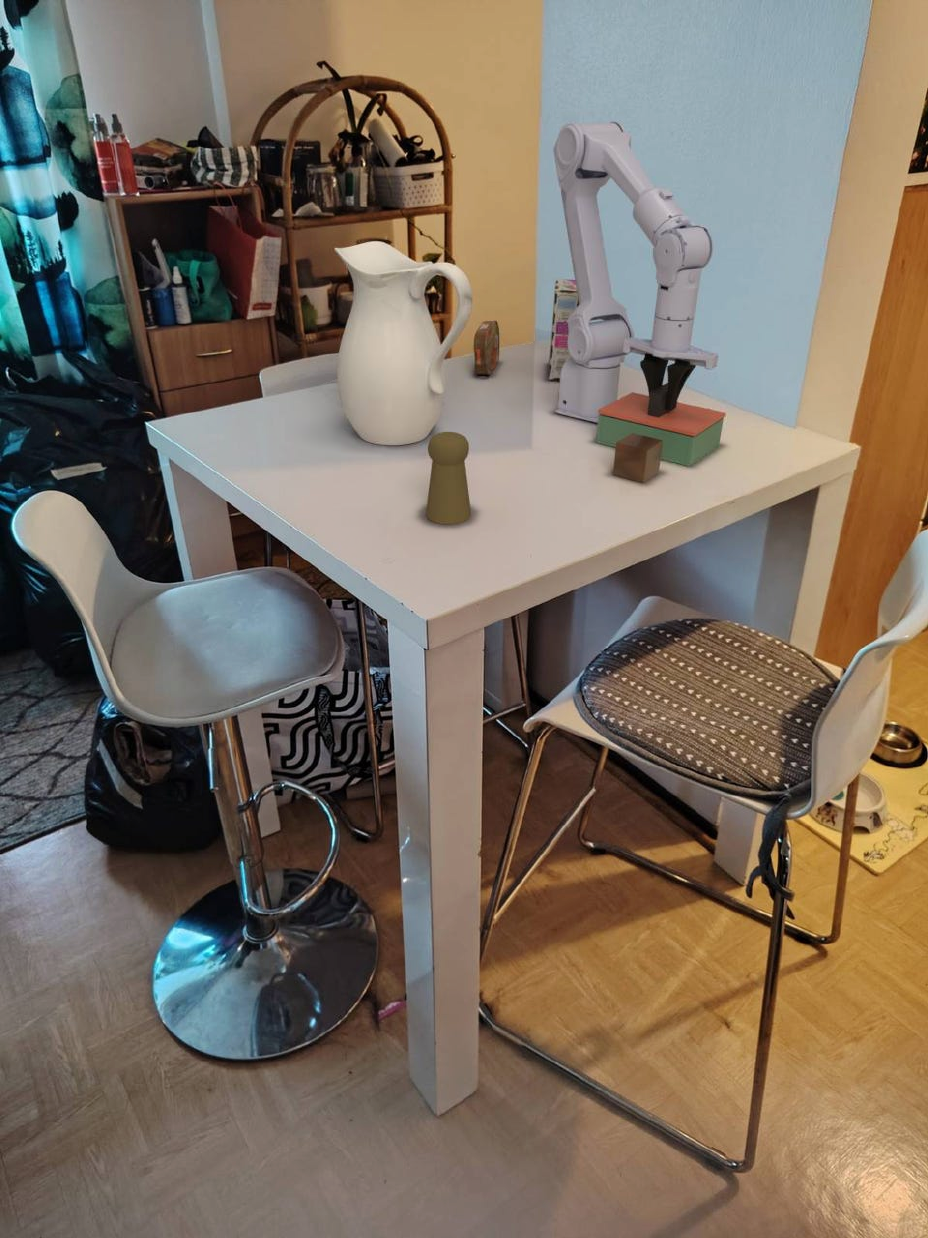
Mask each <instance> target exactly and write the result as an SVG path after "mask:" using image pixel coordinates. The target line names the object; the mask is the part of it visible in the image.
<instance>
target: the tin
mask: <svg viewBox="0 0 928 1238" xmlns="http://www.w3.org/2000/svg"><path fill="white" fill-rule="evenodd" d="M473 352H474V353H473V354H474V355H473V356H474V371H475V374H476V375H478V376H482V375H483V376H491V375H492V374H493V372H494V370H495V368H496V366H497V364H498V363H499V357H500V328H499V323H498V321H497V320H486V321H483V322H482V323H481V324H480V325H479V327H478V329H476V331H475V333H474V336H473Z"/></svg>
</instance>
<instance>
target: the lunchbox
mask: <svg viewBox="0 0 928 1238" xmlns="http://www.w3.org/2000/svg"><path fill="white" fill-rule="evenodd" d="M724 420H725V417H724V418H722V419H720V420H719V421H717V422H716V423H714V424H713V425H711V426H710V427H708V428H707V429H705V430H704V431H702V432H701V433H699V434H697V435H696V436H690V435H686V434H682V433H678V432H674V431H669V430H665V429H661V428H657V427H653V426H649V425H644V424H640V423H636V422H632V421H628V420H624V419H619V418H615V417H611V416H607V415H603V414H600V415H599V418H598V423H597V428H596V429H597V431H596V439H595V442H596V443H597V444H600V445H605V446H609V447H611V448H612V447H613V448H616V442H618V441H619V440H621V439H623V438H624V437H626V436H628V435H630V434H631V433H635V434H639V435H643V436H647V437H651V438H655V439H659V440H663V446H662V453H661V460H663V461H667V462H670V463H675V464H677V465H678V464H679V465H682V466H687V467H691V466H692V465H694V464H695V463H697V462H698V461H700V460H701V459H702V458H704V457H705V456H706V455H708V454H710V453H711V452H712V451H714V450H715V449H716V448H718V447H719V446H720V444H721V437H722V433H723V426H724Z"/></svg>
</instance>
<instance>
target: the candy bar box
mask: <svg viewBox="0 0 928 1238" xmlns="http://www.w3.org/2000/svg"><path fill="white" fill-rule="evenodd" d="M554 283H555V284H554V292H553V293H554V294H553V306H552V318H551V319H552V321H551V333H550V334H551V335H550V346H549V347H550V349H549V361H548V380H549V381H554V382H555V381H557V382H560V375H561V370H562V368H563V365H564V363H565V362H566V361H567V360H568V359H569V358H571V355H570V353H569V350H568V333H569V328H568V321H567V320H568V318H569V317H570V316H571V314H572V313H573V312H574V311H575V310H576V308H577V307H578V306H579V300H578V294H577V287H576V281H575V279H561V278H560V279H557V278H556V279H555V282H554Z"/></svg>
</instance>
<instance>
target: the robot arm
mask: <svg viewBox="0 0 928 1238" xmlns="http://www.w3.org/2000/svg"><path fill="white" fill-rule="evenodd" d="M552 151H553V156H554V163H555V169H556V174H557V175H556V176H557V181H558V186H559V187H558V188H560V195H561V196H560V197H561V202H562V207H563V213H564V220H565V226H566V232H567V238H568V244H569V250H570V257H571V262H572V268H573V269H572V270H573V275H574V280H575V281H576V287H577V294H578V300H579V306H578V307H577V308H576V310H575V311H574V312H573V313H572V314H571V316H570V317H569V318H568V320H567V321H568V328H569V333H568V350H569V353H570V355H571V358H569V359H568V360H567V361H566V362H565V363H564V365H563V368H562V370H561V375H560V381H559V387H558V401H557V408H556V409H555V413H556V414H559V415H563V416H566V417H572V418H575V419H580V420H584V421H587V422H592V423H595V424H598V418H599V415H600V414H599V413H598V410H599V409H601V408H603V407H605V406H607V405H609V404H611V403H612V402H614V401H616V400H618V391H619V382H620V373H621V372H620V371H621V364H622V363H625V358H626V356H627V355H629V354H630V353H632V354H636V355H641V356H642V355H643V359H642V360H640V362H639V367H640V369H641V371H642V373H643V376H644V378H645V382H646V386H647V392H648V396H649V397H650V392H651V391H653V390H655V389H657V388H659V387H660V386H662V385H664V379H665V374H667V383H668V390H667V396H666V406H665V410H671V409H673V408H675V405H676V402H678V399H679V396H680V394H681V392H682V390H683V388H684V386H685V384H686V382H687V380H688V379H689V378H690V376H691V374H692V373H693V371H694V370H695V368H696V367H703V368H704V369H706V370H710V371H712V370H713V369H716V368H717V366H718V361H719V353H716V352H711V351H708V350H705V349H703V348H699V347H697V346H692V345H691V343H692V335H693V328H694V322H695V315H696V307H697V301H698V293H699V287H700V280H701V274H702V269H704V268H705V267H707V266H708V264H709V263H710V261H711V259H712V256H713V252H714V239H713V237H712V235H711V233H710V231H709V228H708V227H707V226H705V225H702V224H696V223H695V222H693V221H691V220H690V218H689V216H688V215H687V214H685V213H684V211H683V210H682V209H681V208H680V206H679V205H678V203H677V202H676V201H675V200H674V198H673V197H674V194H673V193H672V191H671V190H670V189H666V188H664V187H654V185H653V183H652V182H651V180H650V178H649V177H648V175H647V174H646V172H645V170H644V169H643V167H642V165H641V163H640V162H639V159H637V157H636V155H635V154H634V152H633V150H632V136H631V135H630V134H629V133H628V132H627V131H626V129H625V127H624V125H623V124H622V123H621V122H620V121H610V122H594V123H593V122H590V123H589V122H588V123H586V122H585V123H576V122H567V123H565V124H564V125H563V126H562V127H561V129H560V131H559V133H558V136H557V138H556V140H555V143H554V146H553V148H552ZM610 179H612V181H614V183H615V184H616V185H617V186H618V188H619V189H620V190H621V192H623V193H624V194H625V196H626V197H627V198H628V199H629V200H630V201H631V203H632V204H633V210H632V217H633V220H634V221H635V222H636V224H637V225H638V227H639V228H640V229H641V231H642V232H643V233H644V235H645V236H646V238H647V239H648V241H649V242H650V243H651V245H652V246H653V248H652V258H653V263H654V265H655V270H656V273H655V279H656V283H657V293H656V302H655V309H654V317H653V324H652V333H651V334H652V335H651V339H649V338H647V339H646V338H638V337H635V334H634V330H633V327H632V325H631V323H630V321H629V319H628V313H627V308H626V307H625V306H624V305H622V304H621V303H620V302H618V301H617V300H616V299H615V298H614V297H613V294H612V293H613V292H612V287H611V281H610V275H609V267H608V262H607V255H606V250H605V249H606V248H605V242H604V236H603V230H602V223H601V216H600V210H599V205H598V198H597V197H598V194H599V191H600V189H601V188H602V187H604V186H605V185H606V184H607V183H608V182H609V181H610ZM669 361H671V362H674V363H671V364H669ZM668 364H669V365H668ZM666 372H667V373H666Z"/></svg>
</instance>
